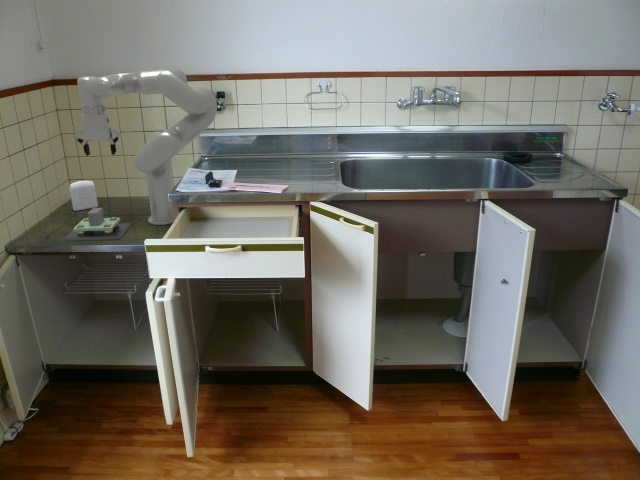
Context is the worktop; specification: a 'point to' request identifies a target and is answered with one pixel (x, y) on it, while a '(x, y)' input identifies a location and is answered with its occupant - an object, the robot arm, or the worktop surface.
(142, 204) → the worktop surface
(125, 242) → the worktop surface
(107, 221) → the board
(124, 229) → the plate
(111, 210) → the worktop surface
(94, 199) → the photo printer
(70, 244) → the worktop surface
